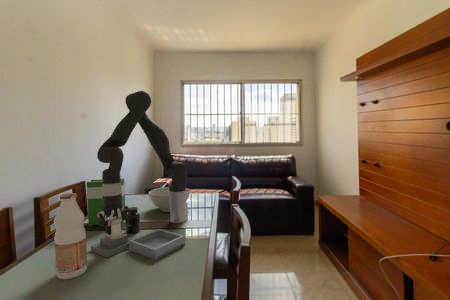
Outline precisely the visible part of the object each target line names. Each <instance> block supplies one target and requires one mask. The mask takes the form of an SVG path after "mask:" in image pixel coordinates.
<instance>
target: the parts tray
mask: <svg viewBox="0 0 450 300" xmlns="http://www.w3.org/2000/svg"><path fill="white" fill-rule="evenodd" d="M185 236H186V235H183V234H181V233H176V232H171V231H169V230H165V229H162V228H158V229H155V230H152V231H150V232H148V233H145V234H143V235H139V236H138V237H134V238H131V239H132V240H130V241H129V248H128V250H129V251H131V252H133V253H136V254H138V255H141V256H144V257H147V258H149V259H150V260H151V259H152V260H154V261H157V260H159V259H161V258H163V257H164V256H166V255H168V254H170V253H173V252H174V251H176V250H178V249H179V248H181V247H183V246H185V245H186V237H185Z"/></svg>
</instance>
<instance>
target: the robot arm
mask: <svg viewBox="0 0 450 300" xmlns="http://www.w3.org/2000/svg"><path fill="white" fill-rule="evenodd" d="M151 104H152V97H151V95H150V93H148V92H147V91H145V90H139V91H135V92H132V93H130V94H128V95H126V97H125V106H126V108H127V109H128V112H127V114H126V115H125V116H124V117H123V118H122V119H121V120H120V121H119V122H118V123H117V125H116V126H115V128H114V129H113V131H112V133H111V135H110V136H109V137H108V138H107V139H106V140H105V141H104V142H103V143H102V144H101V145H100V146H99V149H98V150H97V160H98V161H99V162H100V163H103V164H109V165H108V168H105V169H103V170H102V172H101V173H102V174H101V177H102V181H103V186H102V195H103V206H104V208H103V211H101V212H100V213H97V214H96V215H97V218H98V220H99V222H100V225H99V226H103V227H105V234H106V235H107V234H108V235H111V226H110V224H111V221H112V218H113V217H114V216H115V218H120V219H121V230H122V228H123V224H122V221H123V220H125V219H126V216H127V211H128V208H129V206H127V205H125V206H122V189H121V181H120V179H121V171H122V166H123V162H124V152H123V149H122V147H124V146H126V144H127V142H128V140H129V139H130V137H131V135H132V133H133V131H134V129H135V127H136V126H137V124H139V126H140V128H141V130H142V131H143V134H145V136H146V138H147V139H148V141H149V144H150V145H151V147H152V148H153V150H154V152H155V154H156V156H157V157H158V158H159V160H160V162H161V164H162V167H163V169H164V171H165V173H166V175H167V176H168V177H169V178H172V180H173V183H172V184H170V185H169V186H168V187H169V199H170V212H169V220H170V221H169V222H170V223H173V224H182V223H185V222H187V220H188V219H189V214H188V210H189V208H188V207H189V206H188V202H187V201H186V188H187V185H188V167H187V164H186V163H184V162H182V161H181V162H180V161H176V160H175V158H174V157H173V155H172V154H171V150H170V147H171V146H170V141H169V138H168V136H167V134H166V132H165V130H164V129H163V128H162V127H161V126H160V124H158V123H156V122H155V121H154V120H153V119H151V117H150V116H149V115H148V114H147V111H148V110H149V108H150V107H151ZM121 210H122V212H121V213H120V211H121ZM104 214H105V215H106V216H105V220H104ZM125 221H126V220H125Z"/></svg>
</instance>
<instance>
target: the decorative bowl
mask: <svg viewBox="0 0 450 300" xmlns="http://www.w3.org/2000/svg"><path fill="white" fill-rule="evenodd" d="M190 195H191V189H190V188H188V187H186V202H187V201H188V199H189V197H190ZM148 197H149V199H150V201H151V202H152V204H153V205H154V206H155V207H156V208H157V209H160V211H161V212H164V213H165V212H167V213H170V199H169V186H166V187H160V188H159V187H158V188H154V189H151V190H150V191H148Z"/></svg>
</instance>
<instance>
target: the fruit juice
mask: <svg viewBox="0 0 450 300" xmlns="http://www.w3.org/2000/svg"><path fill="white" fill-rule="evenodd" d="M76 199H77V193H76V192H75V193H73V192H69V193H68V192H67V193H62V194H60V195H59V200H60V205H59V208H58V211H57V213H56V215H55V217H54V219H53V225H54V228H55V232H54V240H53V241H54V253H55V254H54V255H55V256H54V257H55V271H56V272H55V273H56V277H57V278H58V279H59V280H70V279H75V278H77V277H79V276H82V275H83V274H84V273H85V272H87V270H88V253H87V235H86V233H87V232H86V228H85V226H84V224H85V223H84V222H85V220H86V219H85V214H84V212H83V211H82V209H81V208H80V206H79V204H78V202H77V200H76Z"/></svg>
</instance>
